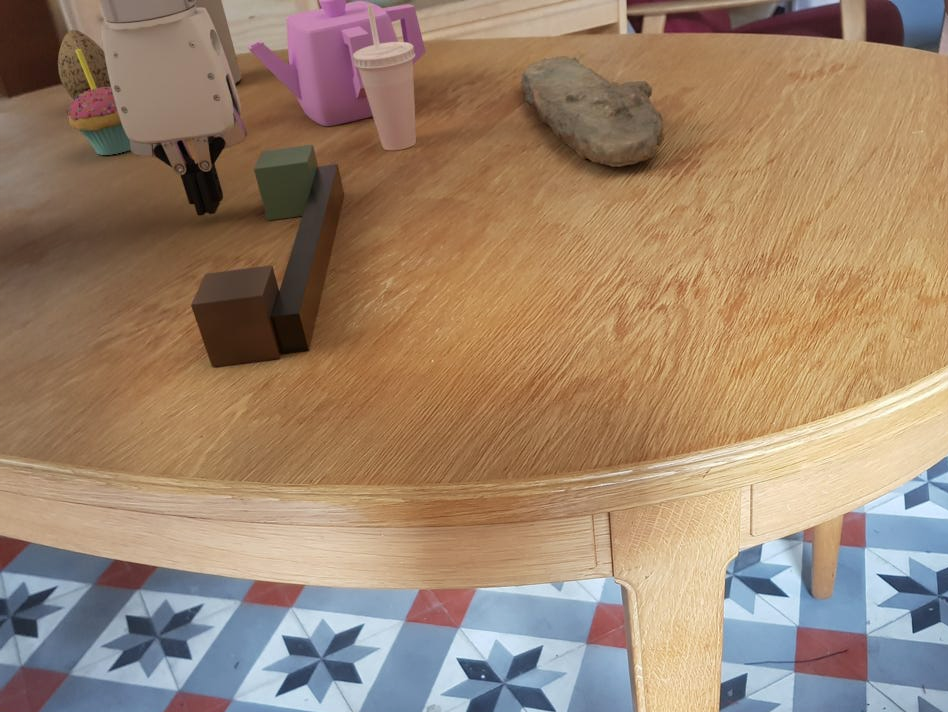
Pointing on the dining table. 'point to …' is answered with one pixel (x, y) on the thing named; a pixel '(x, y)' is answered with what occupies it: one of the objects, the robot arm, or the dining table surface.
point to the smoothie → (389, 88)
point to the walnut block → (238, 315)
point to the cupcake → (98, 116)
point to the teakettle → (335, 56)
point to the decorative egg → (72, 68)
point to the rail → (308, 262)
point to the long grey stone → (594, 111)
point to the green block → (285, 180)
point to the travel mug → (222, 33)
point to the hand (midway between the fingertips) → (209, 209)
